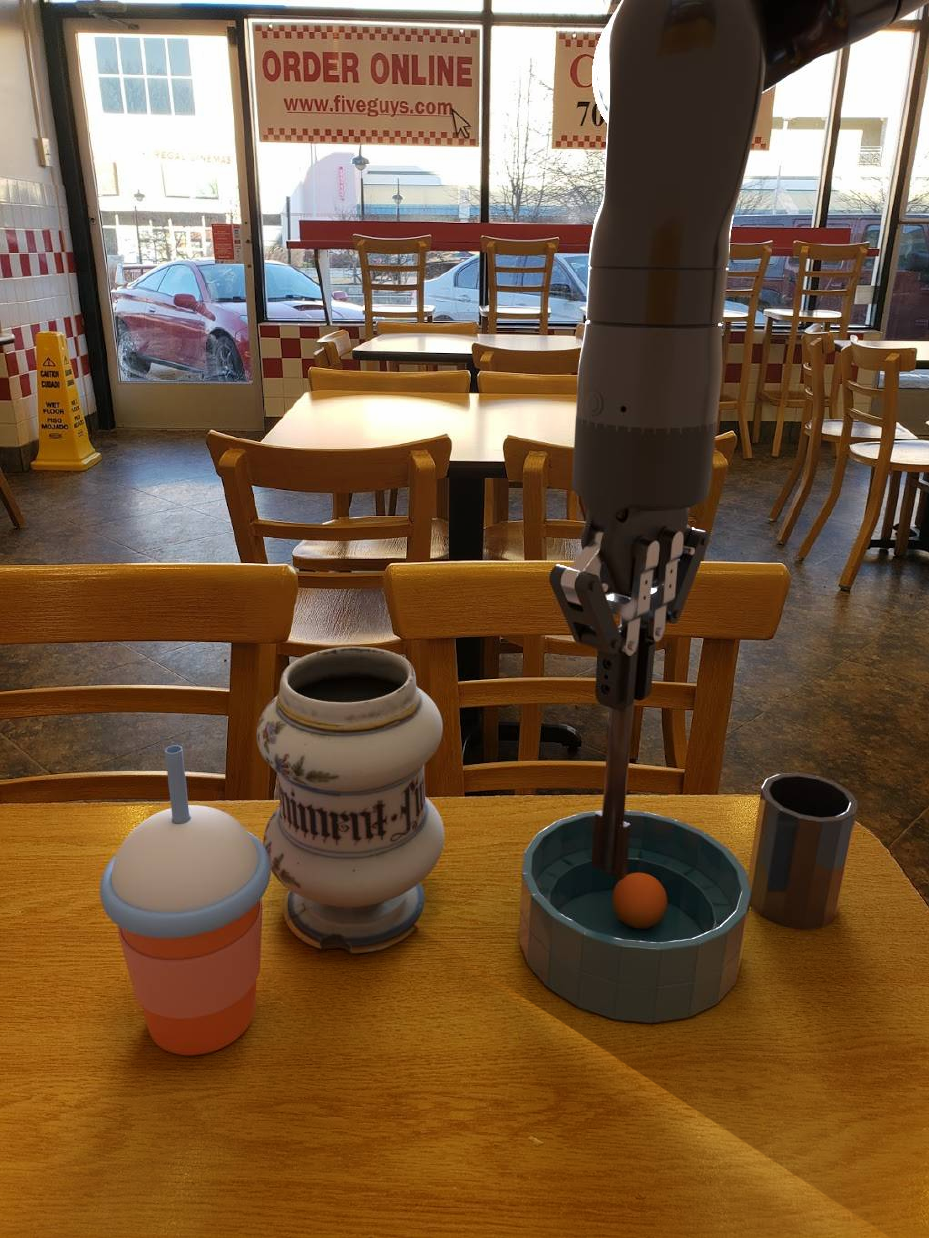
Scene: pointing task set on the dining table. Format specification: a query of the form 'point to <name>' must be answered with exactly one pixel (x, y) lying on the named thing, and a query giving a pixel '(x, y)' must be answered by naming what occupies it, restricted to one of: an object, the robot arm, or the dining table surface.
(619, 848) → the stirring stick
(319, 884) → the apothecary jar
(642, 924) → the ball
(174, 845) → the cup with straw
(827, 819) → the holder
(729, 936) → the bowl
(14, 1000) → the dining table surface
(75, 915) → the dining table surface
